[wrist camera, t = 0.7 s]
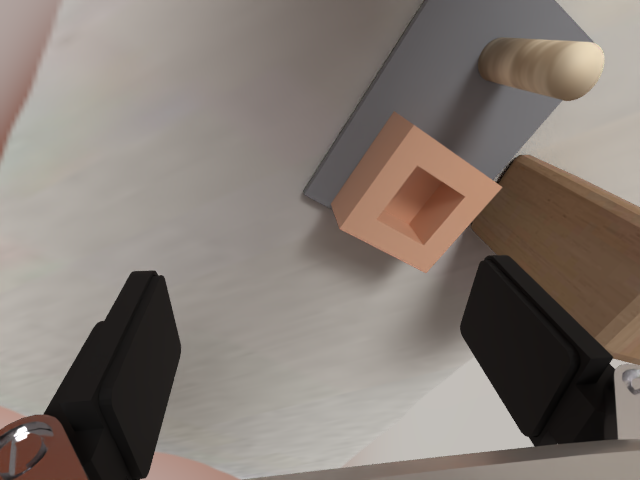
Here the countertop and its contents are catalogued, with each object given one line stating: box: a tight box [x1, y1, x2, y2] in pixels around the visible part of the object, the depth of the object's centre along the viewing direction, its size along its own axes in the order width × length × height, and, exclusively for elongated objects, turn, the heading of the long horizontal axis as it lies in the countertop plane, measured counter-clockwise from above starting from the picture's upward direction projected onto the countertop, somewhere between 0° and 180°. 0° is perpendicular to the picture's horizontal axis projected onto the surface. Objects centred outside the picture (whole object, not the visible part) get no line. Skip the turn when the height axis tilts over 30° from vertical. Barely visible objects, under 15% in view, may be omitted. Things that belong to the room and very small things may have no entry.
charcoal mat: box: [303, 0, 594, 210], centre depth 36 cm, size 26×17×1 cm, turn 148°
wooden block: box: [471, 155, 640, 365], centre depth 34 cm, size 10×10×20 cm
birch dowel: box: [478, 37, 604, 101], centre depth 28 cm, size 4×4×10 cm
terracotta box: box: [331, 111, 502, 273], centre depth 36 cm, size 11×11×6 cm
